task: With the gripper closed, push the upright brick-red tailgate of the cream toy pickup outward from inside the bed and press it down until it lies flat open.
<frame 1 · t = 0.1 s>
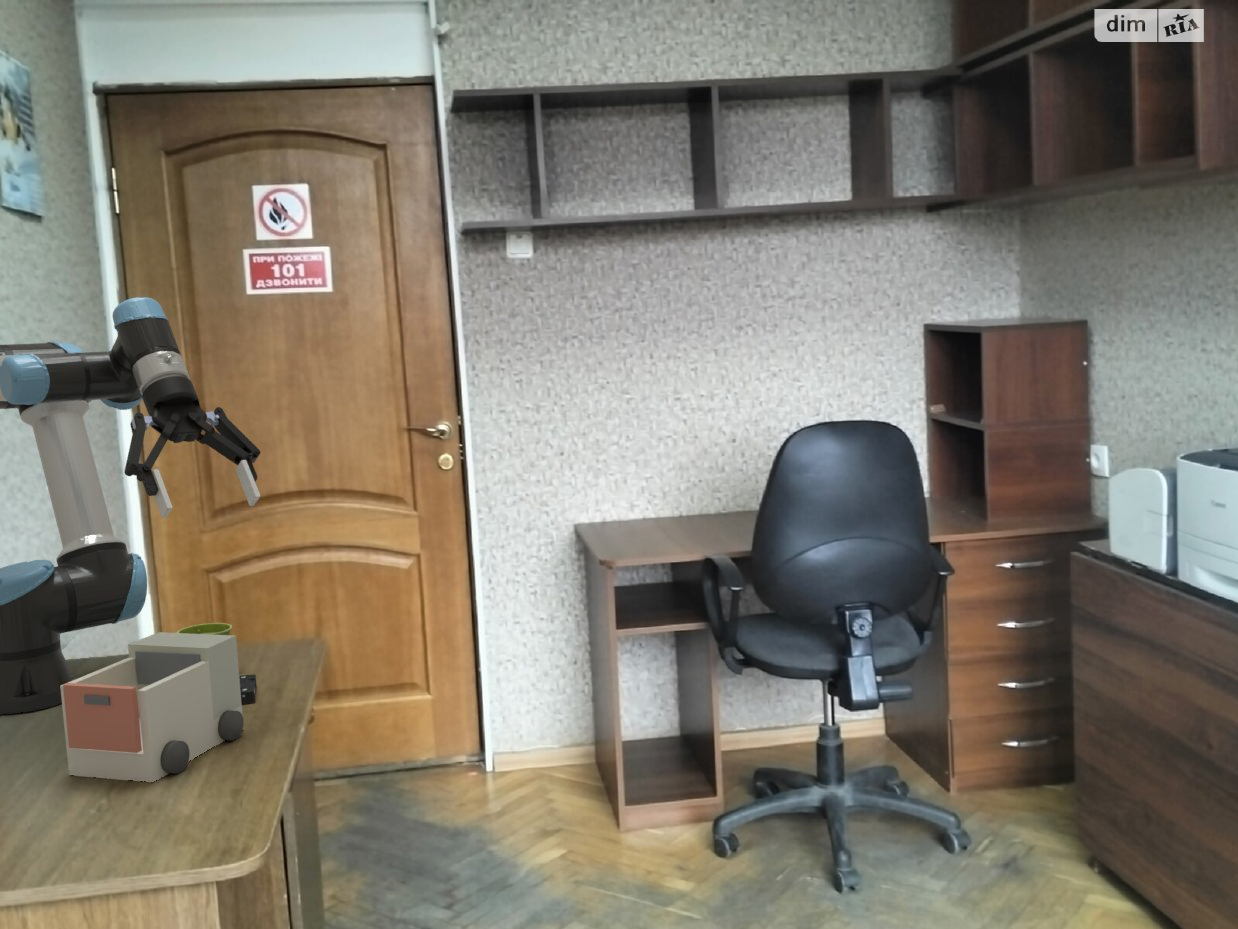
hand: (212, 507, 168), 36 cm above the table, tool tilted 35°, fingers open, 13 cm apart
plant pot: (208, 676, 207), on the table
tailgate: (101, 718, 157), point 9 cm above the table, hinge at 0.0°
truck: (160, 751, 169), on the table
disk drive: (210, 703, 193), on the table
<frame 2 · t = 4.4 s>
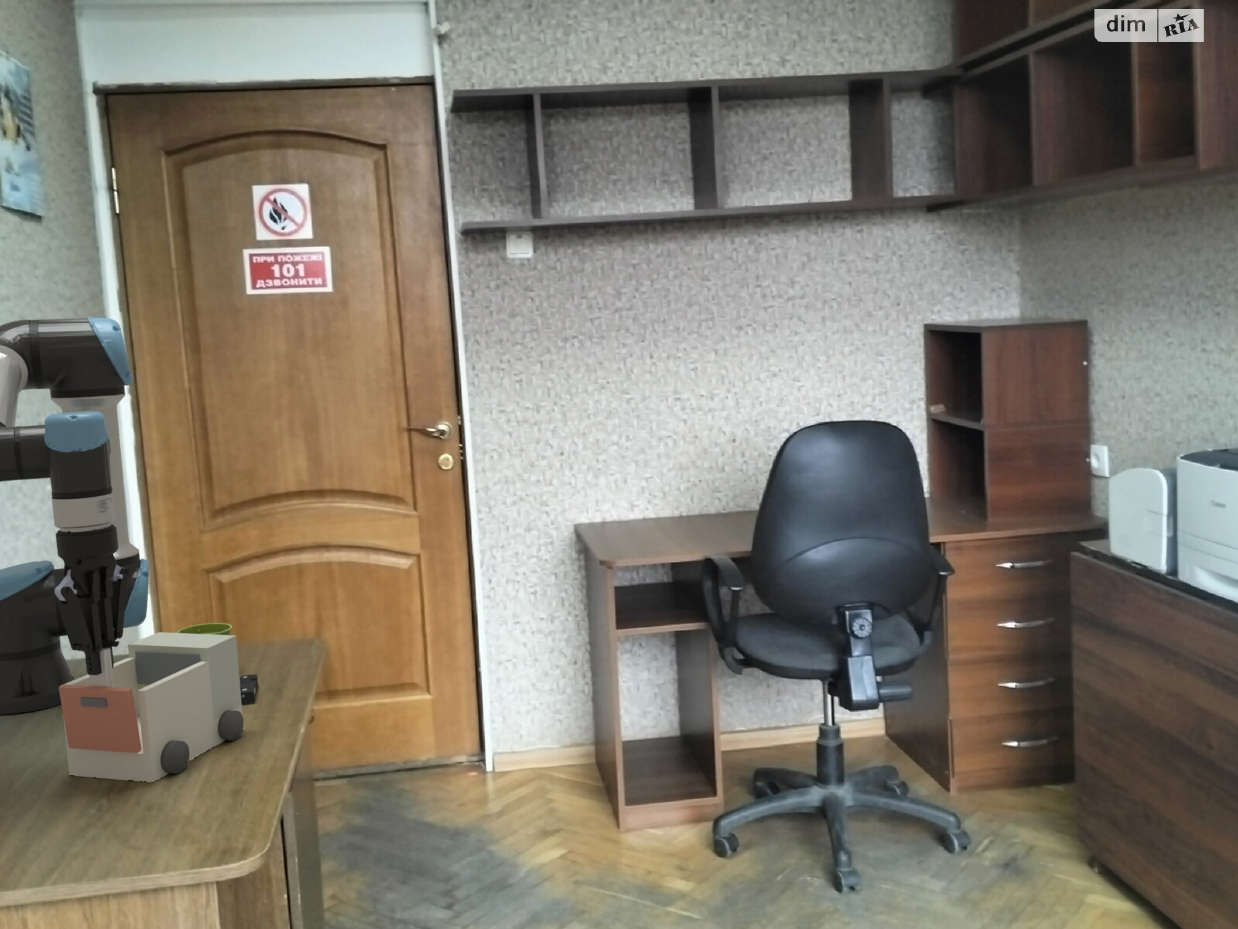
hand: (103, 695, 158), 12 cm above the table, tool pointing down, fingers closed
tailgate: (99, 719, 157), point 9 cm above the table, hinge at 5.1°, touching gripper
everything else where it was.
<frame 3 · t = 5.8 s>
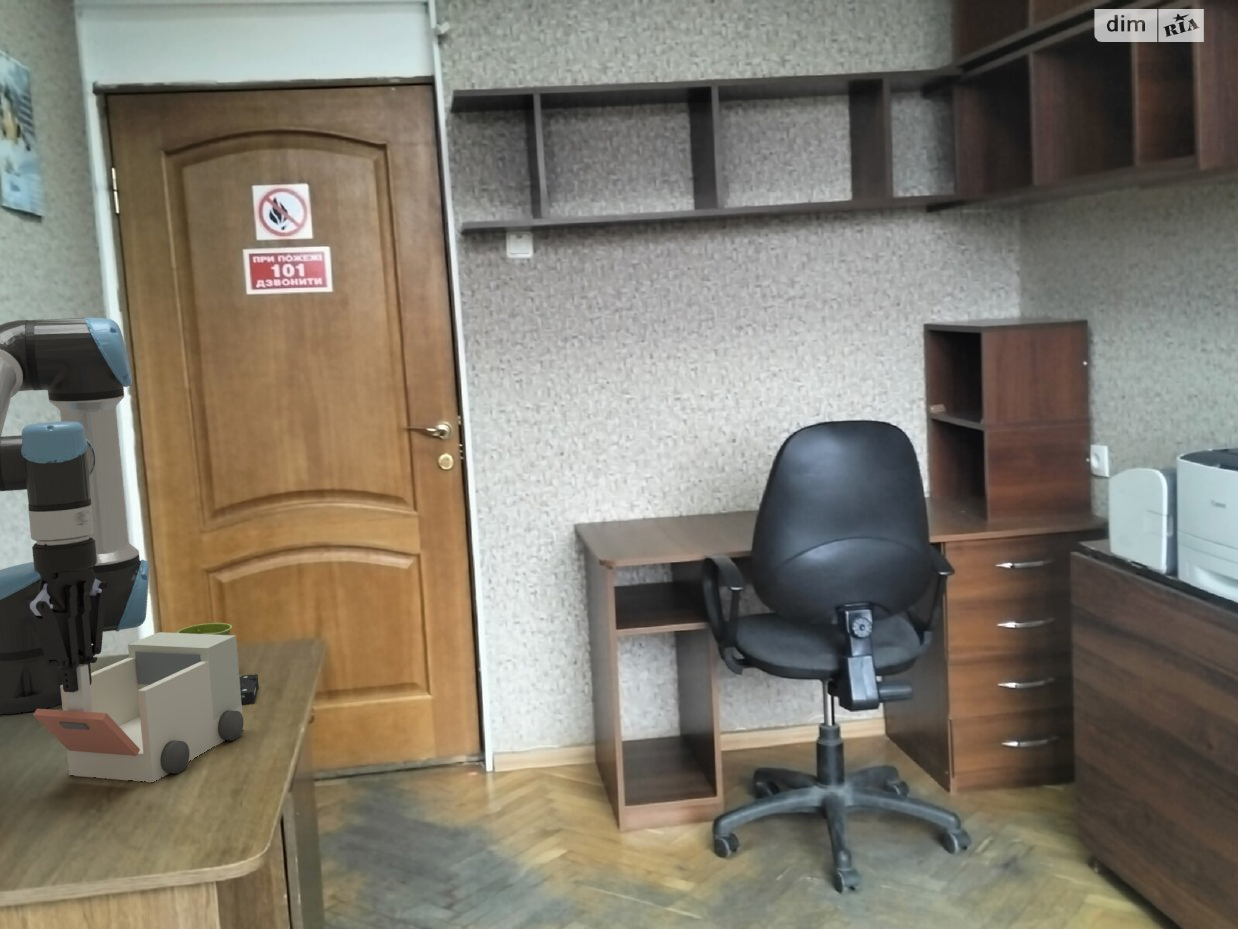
hand: (80, 712, 153), 11 cm above the table, tool pointing down, fingers closed
tailgate: (86, 733, 155), point 8 cm above the table, hinge at 38.6°, touching gripper
everything else where it was.
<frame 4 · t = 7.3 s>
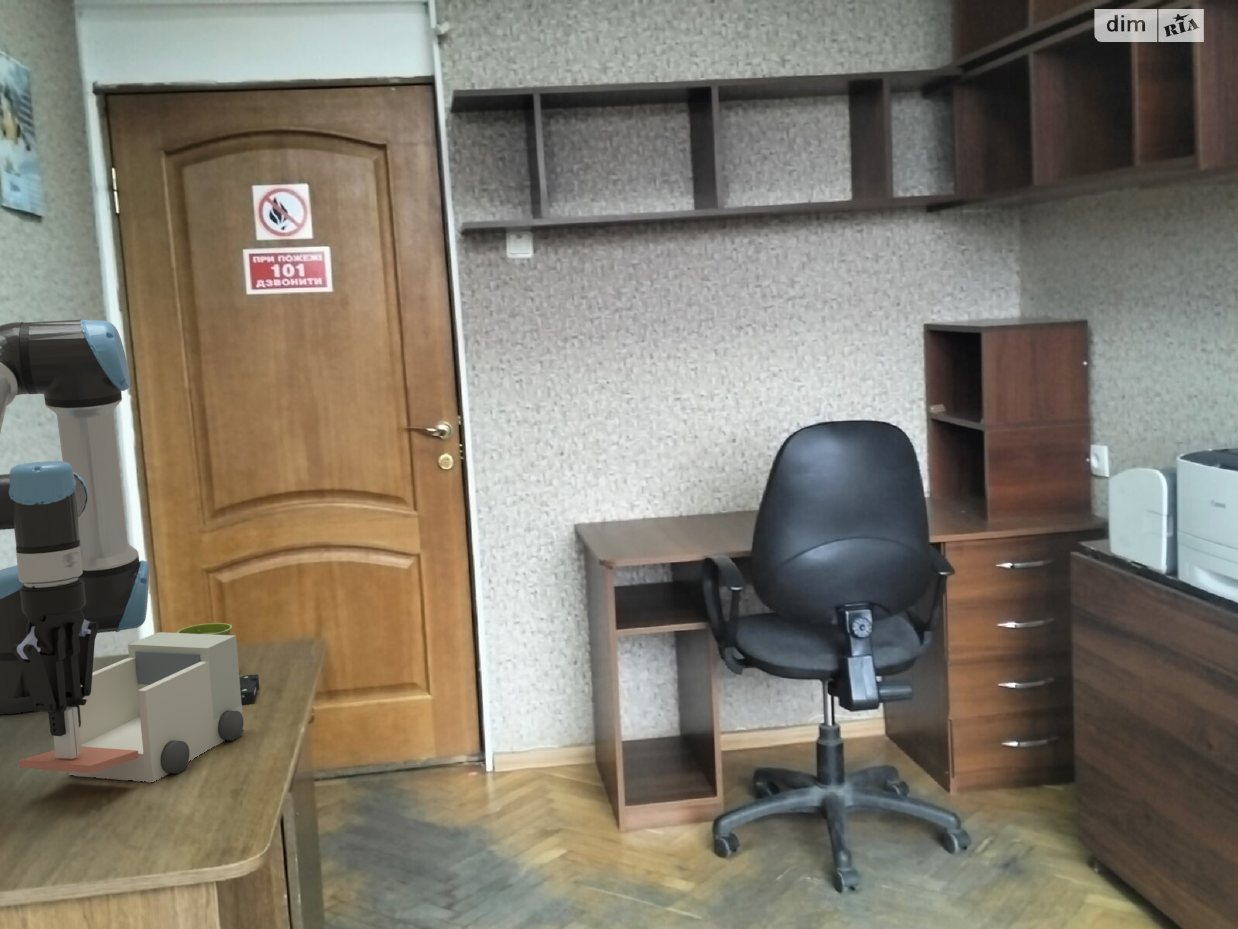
hand: (68, 755, 151), 6 cm above the table, tool pointing down, fingers closed
tailgate: (79, 760, 153), point 5 cm above the table, hinge at 81.5°, touching gripper
everything else where it was.
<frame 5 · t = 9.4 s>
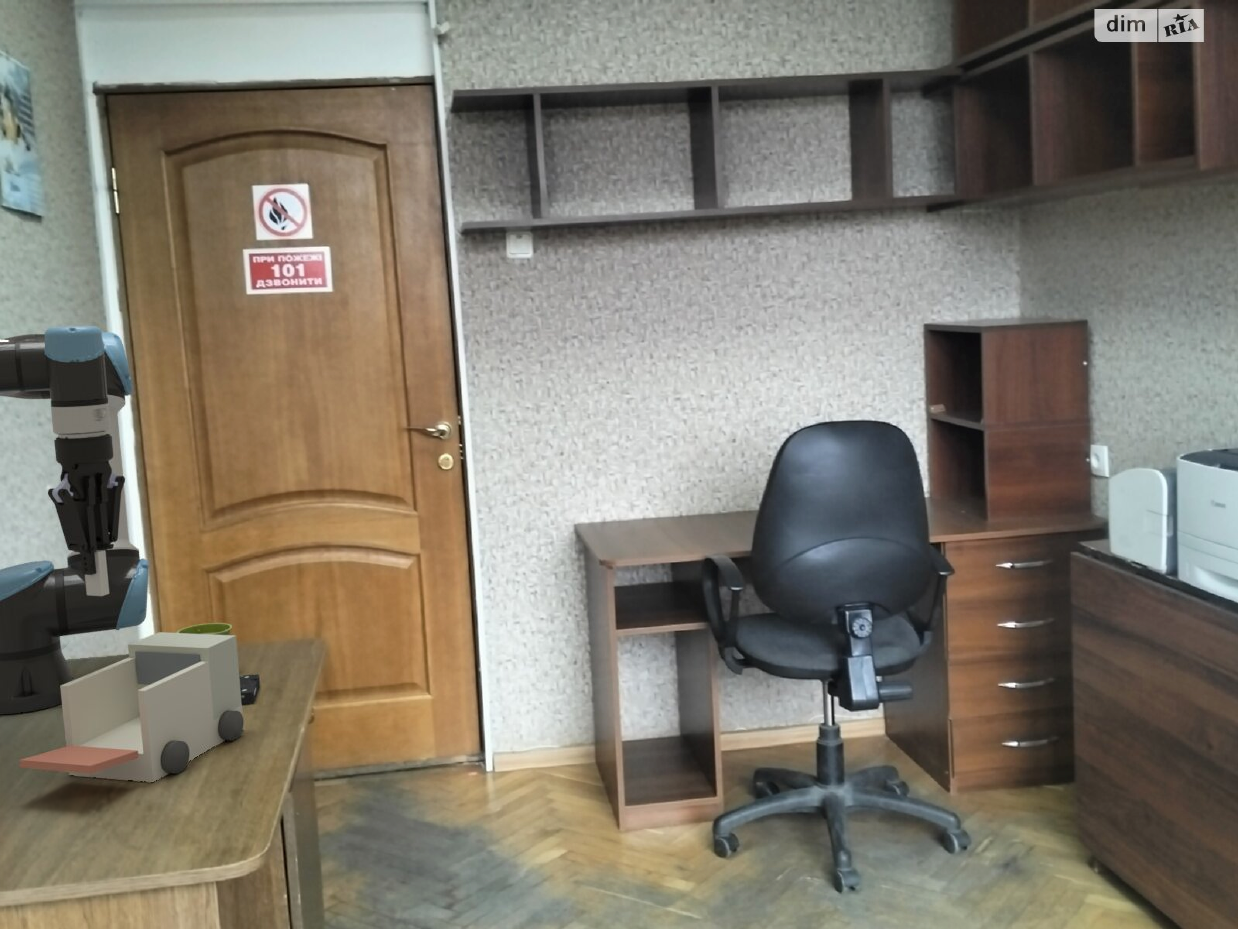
hand: (98, 594, 167), 24 cm above the table, tool pointing down, fingers closed
tailgate: (79, 760, 153), point 5 cm above the table, hinge at 81.6°
everything else where it was.
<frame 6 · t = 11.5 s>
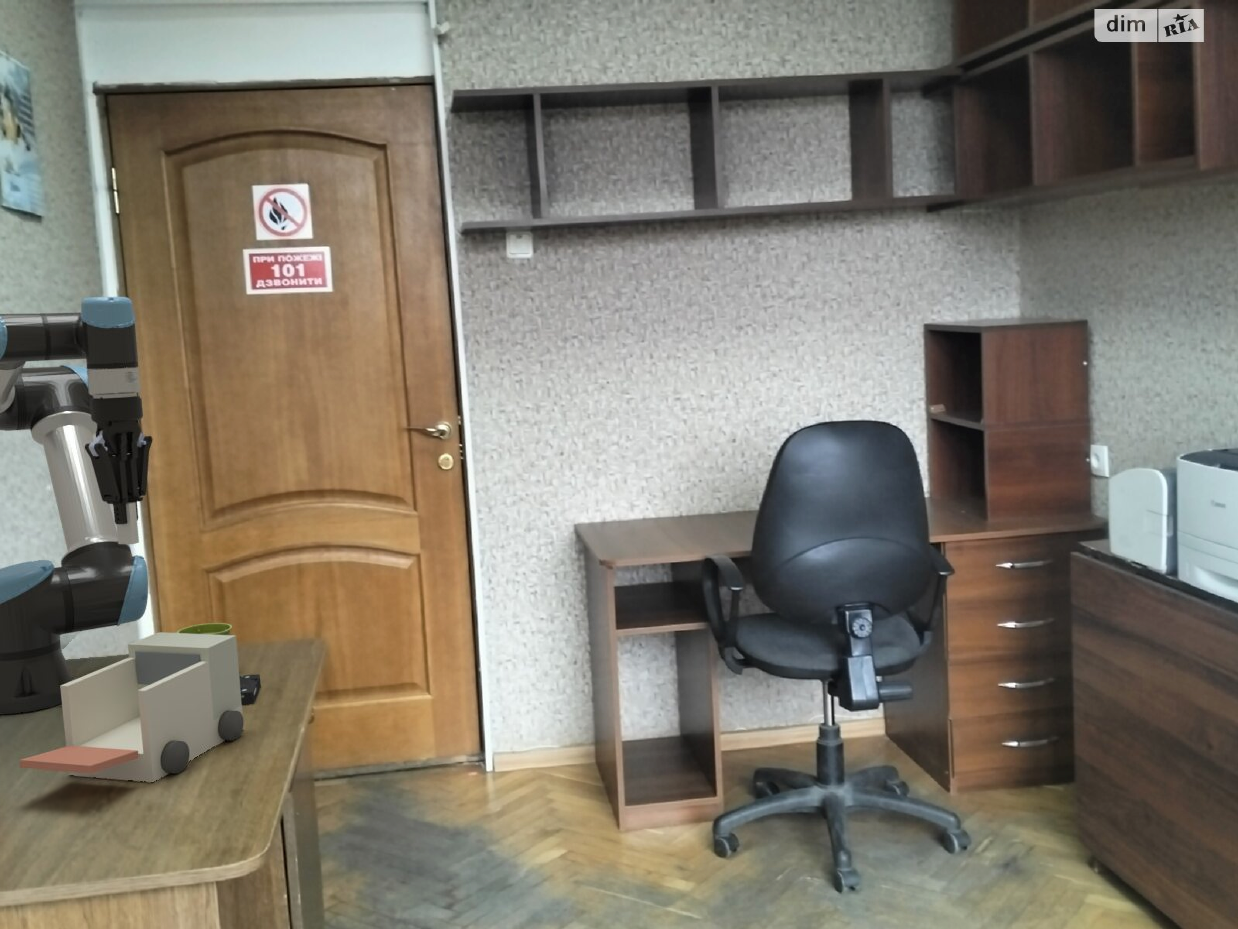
hand: (128, 543, 183), 28 cm above the table, tool pointing down, fingers closed
nothing on the table moved.
at the end: tailgate at +82° (first picture: +0°) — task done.
